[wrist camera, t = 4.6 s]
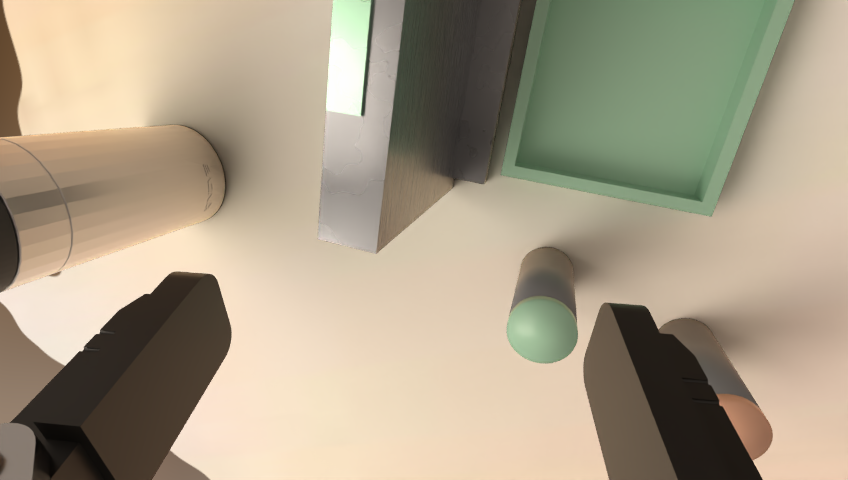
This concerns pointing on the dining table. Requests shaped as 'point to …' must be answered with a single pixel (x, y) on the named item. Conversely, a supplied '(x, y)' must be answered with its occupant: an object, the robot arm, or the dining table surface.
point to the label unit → (408, 109)
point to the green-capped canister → (544, 307)
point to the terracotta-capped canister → (725, 384)
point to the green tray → (641, 95)
